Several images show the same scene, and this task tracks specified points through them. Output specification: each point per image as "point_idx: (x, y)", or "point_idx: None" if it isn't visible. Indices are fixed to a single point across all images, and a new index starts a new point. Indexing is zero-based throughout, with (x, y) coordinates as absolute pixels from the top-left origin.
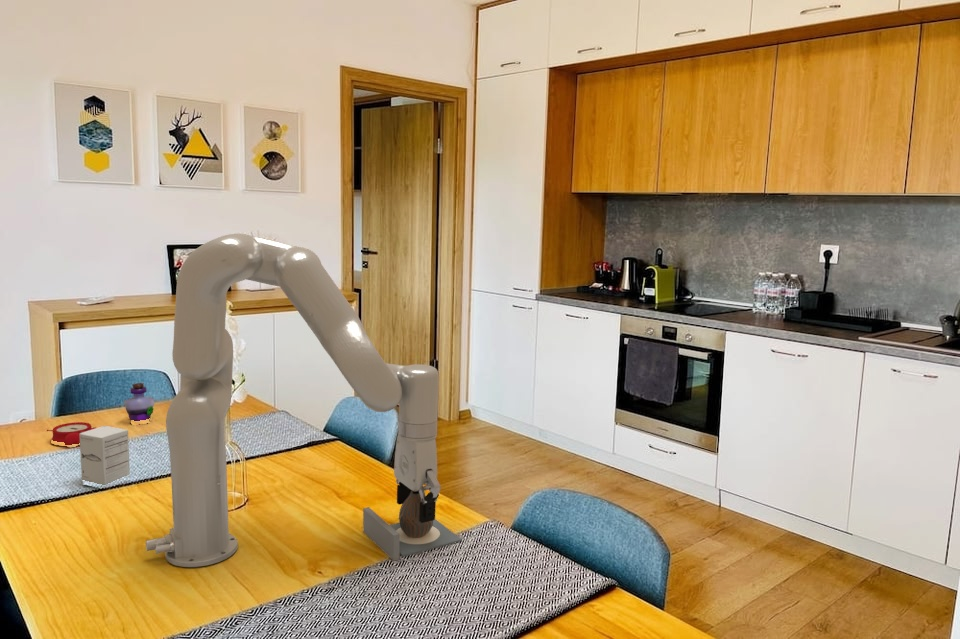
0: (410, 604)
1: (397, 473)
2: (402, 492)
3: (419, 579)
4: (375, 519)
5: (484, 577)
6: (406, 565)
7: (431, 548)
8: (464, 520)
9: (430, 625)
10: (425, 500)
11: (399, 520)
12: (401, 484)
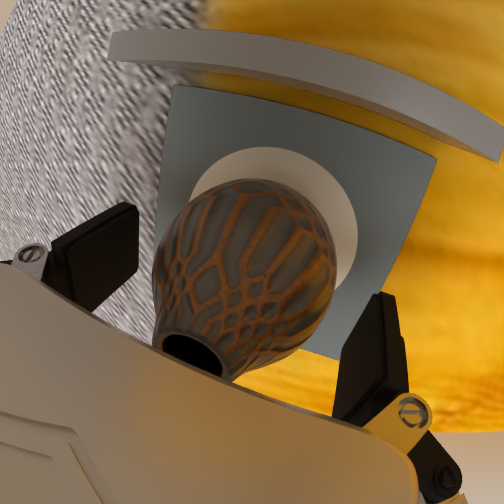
0: (41, 16)
1: (299, 493)
2: (364, 356)
3: (74, 66)
4: (333, 50)
5: (33, 190)
6: (134, 69)
7: (160, 194)
8: (249, 379)
9: (7, 31)
10: (18, 256)
11: (291, 193)
12: (377, 403)
